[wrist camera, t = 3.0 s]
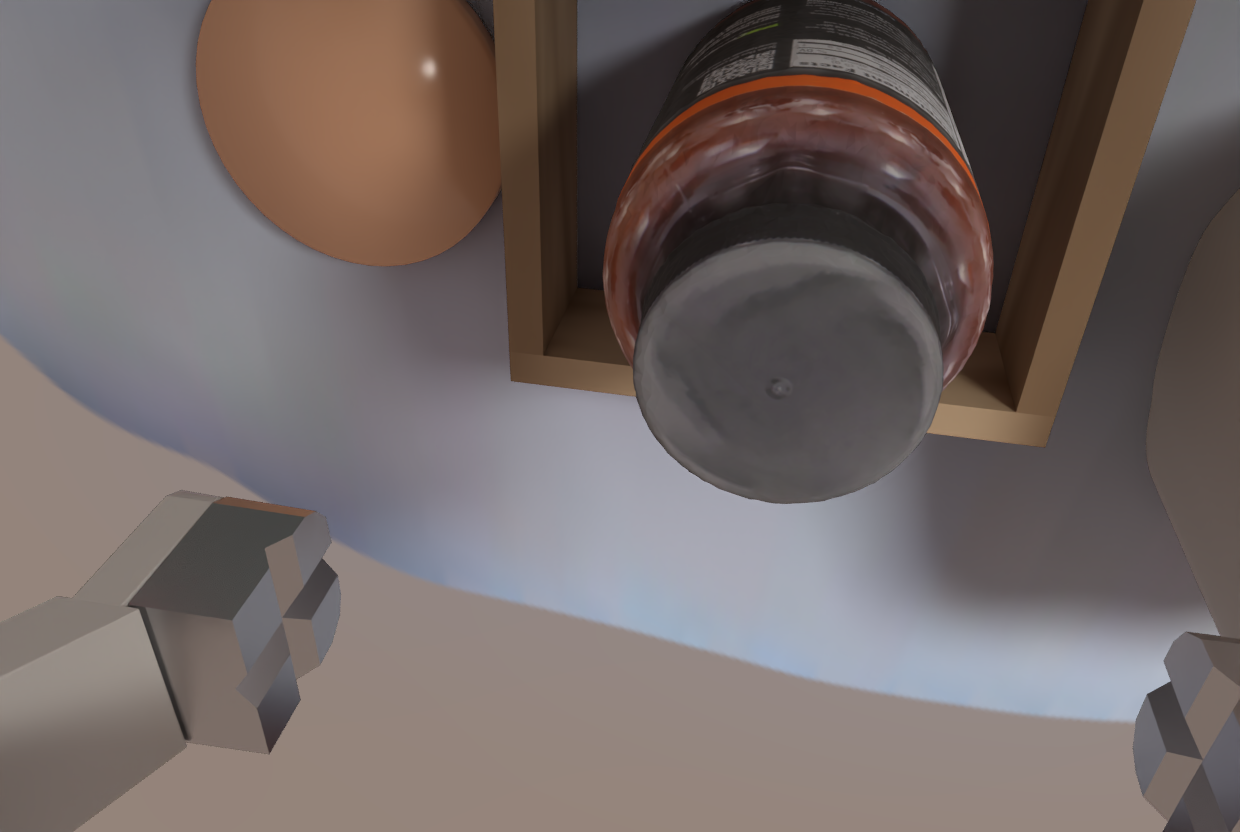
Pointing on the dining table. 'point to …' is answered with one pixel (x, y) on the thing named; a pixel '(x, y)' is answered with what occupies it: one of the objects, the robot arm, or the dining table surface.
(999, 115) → the dining table surface
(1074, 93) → the cold frame
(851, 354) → the supplement bottle
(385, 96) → the saucer
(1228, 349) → the lumpy-topped squat cylinder
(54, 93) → the dining table surface
